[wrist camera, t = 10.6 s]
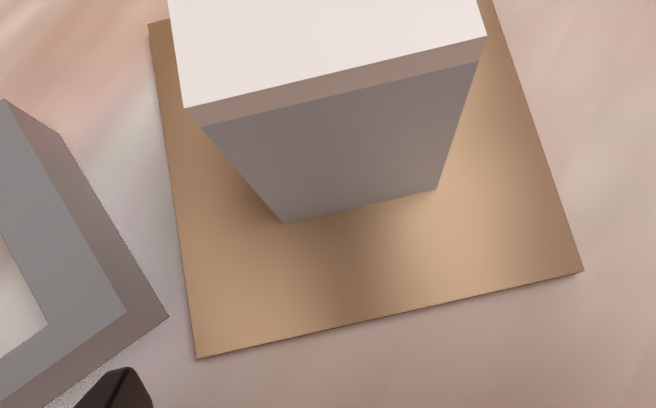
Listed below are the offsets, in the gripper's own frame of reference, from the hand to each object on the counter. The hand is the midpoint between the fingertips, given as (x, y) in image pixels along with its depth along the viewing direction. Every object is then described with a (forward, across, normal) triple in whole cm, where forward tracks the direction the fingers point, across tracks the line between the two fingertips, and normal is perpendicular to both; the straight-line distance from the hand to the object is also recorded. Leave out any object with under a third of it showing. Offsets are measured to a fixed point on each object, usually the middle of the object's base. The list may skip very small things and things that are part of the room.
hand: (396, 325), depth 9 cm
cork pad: (+10, 0, +1) cm, 10 cm away
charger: (+10, 0, +1) cm, 10 cm away
